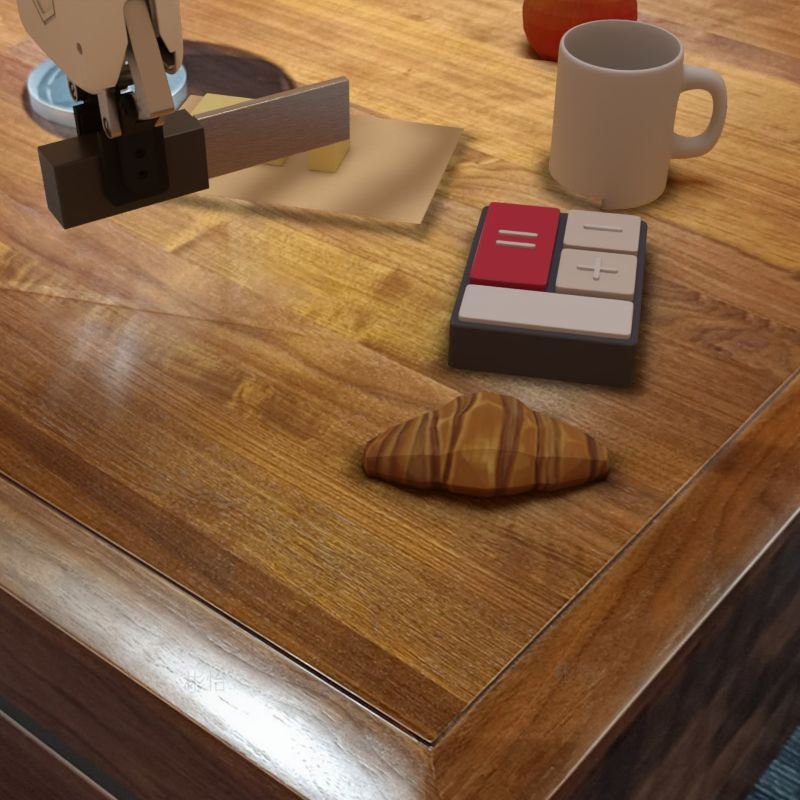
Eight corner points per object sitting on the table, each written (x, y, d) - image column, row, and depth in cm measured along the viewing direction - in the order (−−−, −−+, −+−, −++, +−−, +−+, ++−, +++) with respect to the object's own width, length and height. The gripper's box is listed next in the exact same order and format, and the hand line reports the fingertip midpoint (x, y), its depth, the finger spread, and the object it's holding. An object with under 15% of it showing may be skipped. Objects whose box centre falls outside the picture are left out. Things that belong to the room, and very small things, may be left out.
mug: (548, 215, 95) (561, 70, 88) (545, 155, 102) (556, 16, 95) (720, 220, 95) (746, 75, 88) (705, 160, 101) (728, 20, 94)
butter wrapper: (121, 200, 97) (118, 182, 96) (192, 111, 107) (190, 94, 106) (420, 242, 93) (420, 223, 92) (463, 145, 103) (464, 127, 102)
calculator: (649, 209, 89) (639, 334, 77) (642, 266, 91) (631, 395, 80) (483, 193, 90) (448, 313, 79) (480, 249, 93) (446, 373, 81)
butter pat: (308, 170, 97) (306, 132, 95) (324, 143, 100) (323, 106, 98) (335, 173, 97) (334, 136, 95) (350, 147, 100) (349, 110, 98)
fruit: (637, 41, 117) (651, -74, 111) (626, 90, 110) (640, -30, 104) (528, 30, 119) (535, -84, 113) (510, 78, 112) (517, -41, 106)
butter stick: (190, 154, 99) (186, 117, 97) (210, 129, 102) (206, 92, 100) (282, 166, 98) (279, 129, 96) (298, 140, 101) (296, 103, 99)
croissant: (601, 437, 77) (610, 367, 74) (614, 520, 72) (624, 450, 68) (364, 433, 77) (362, 364, 74) (359, 517, 72) (357, 446, 69)
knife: (64, 230, 68) (53, 166, 65) (47, 209, 69) (36, 146, 67) (358, 146, 75) (358, 86, 72) (337, 128, 76) (335, 69, 74)
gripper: (-71, -226, 61) (3, 137, 73) (56, -124, 51) (119, 281, 63) (85, -249, 65) (133, 103, 76) (236, -157, 54) (264, 235, 66)
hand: (126, 180), depth 69 cm, fingers closed on knife, 2 cm apart
